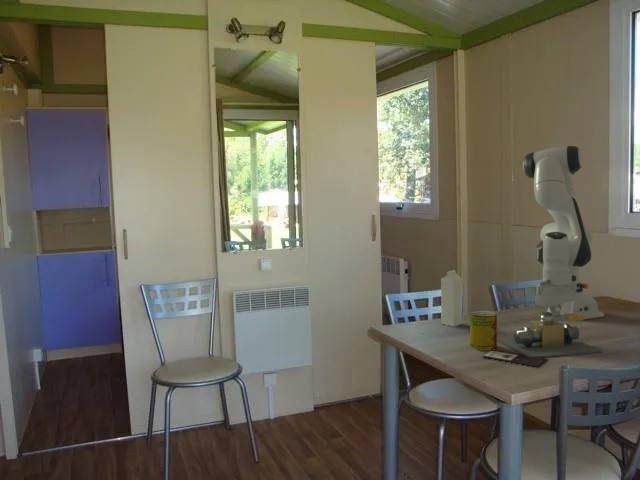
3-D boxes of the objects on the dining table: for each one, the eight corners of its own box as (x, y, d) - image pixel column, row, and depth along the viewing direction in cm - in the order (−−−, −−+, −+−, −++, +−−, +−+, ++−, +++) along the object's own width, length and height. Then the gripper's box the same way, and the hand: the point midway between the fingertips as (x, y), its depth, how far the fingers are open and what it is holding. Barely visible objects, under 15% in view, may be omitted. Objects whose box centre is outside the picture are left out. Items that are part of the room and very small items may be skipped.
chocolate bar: (537, 366, 179) (482, 356, 190) (537, 369, 179) (482, 359, 190) (547, 358, 185) (493, 349, 197) (547, 361, 186) (493, 352, 197)
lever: (544, 323, 198) (544, 314, 198) (538, 320, 202) (538, 311, 201) (585, 320, 200) (585, 311, 200) (578, 318, 204) (578, 309, 203)
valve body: (568, 338, 207) (569, 318, 206) (582, 345, 199) (582, 323, 198) (511, 343, 203) (511, 322, 202) (523, 350, 195) (523, 328, 194)
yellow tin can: (491, 352, 196) (491, 317, 195) (466, 348, 202) (465, 314, 200) (500, 345, 203) (500, 312, 202) (476, 342, 209) (476, 309, 207)
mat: (561, 334, 214) (561, 333, 214) (601, 352, 192) (601, 350, 192) (496, 340, 210) (496, 338, 210) (529, 358, 188) (529, 357, 187)
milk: (462, 324, 235) (462, 270, 233) (453, 326, 231) (453, 272, 229) (449, 321, 239) (449, 268, 237) (441, 324, 235) (440, 270, 233)
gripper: (547, 283, 196) (546, 323, 198) (580, 275, 208) (579, 313, 210) (530, 281, 201) (530, 320, 203) (563, 273, 213) (563, 310, 215)
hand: (555, 316), depth 206 cm, fingers closed
